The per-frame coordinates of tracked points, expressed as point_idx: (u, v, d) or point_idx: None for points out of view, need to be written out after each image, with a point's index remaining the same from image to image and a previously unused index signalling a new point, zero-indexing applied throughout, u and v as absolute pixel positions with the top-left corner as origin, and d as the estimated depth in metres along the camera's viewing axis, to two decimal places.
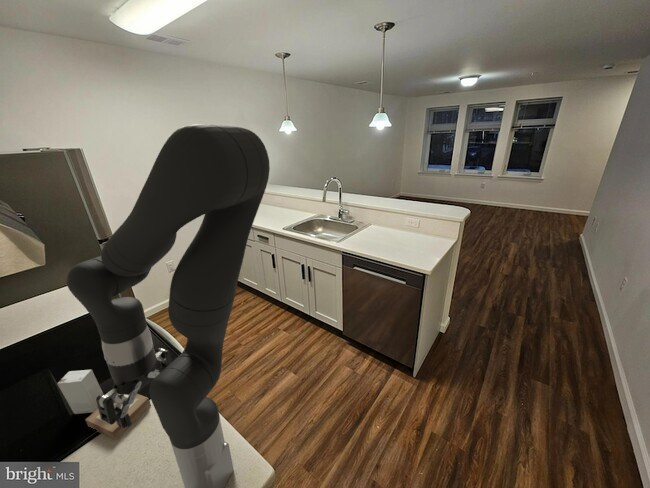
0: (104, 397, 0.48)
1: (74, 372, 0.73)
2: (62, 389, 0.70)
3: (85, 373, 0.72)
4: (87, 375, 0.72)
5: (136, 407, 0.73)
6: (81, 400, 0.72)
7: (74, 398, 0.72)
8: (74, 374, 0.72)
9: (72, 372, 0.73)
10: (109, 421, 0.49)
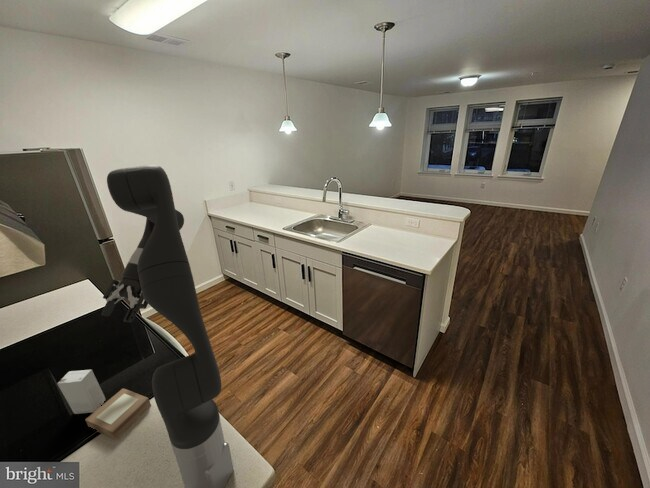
0: (117, 280, 0.81)
1: (74, 372, 0.73)
2: (62, 389, 0.70)
3: (85, 373, 0.72)
4: (87, 375, 0.72)
5: (136, 407, 0.73)
6: (81, 400, 0.72)
7: (74, 398, 0.72)
8: (74, 374, 0.72)
9: (72, 372, 0.73)
10: None
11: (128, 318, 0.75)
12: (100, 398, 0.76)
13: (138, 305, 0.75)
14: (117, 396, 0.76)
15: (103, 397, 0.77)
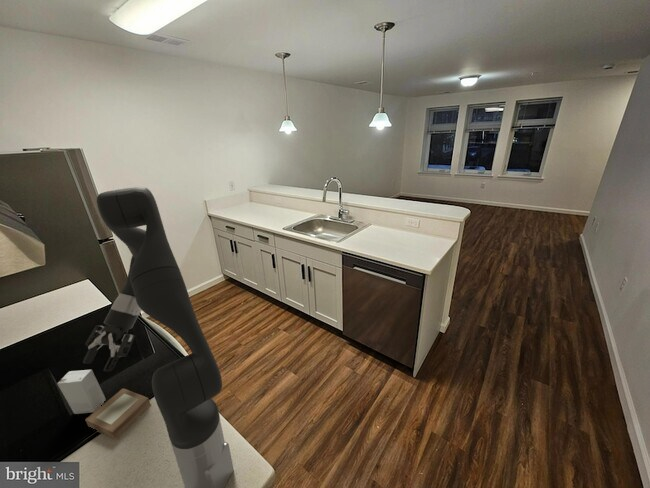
0: None
1: (74, 372, 0.73)
2: (62, 389, 0.70)
3: (85, 373, 0.72)
4: (87, 375, 0.72)
5: (136, 407, 0.73)
6: (81, 400, 0.72)
7: (74, 398, 0.72)
8: (74, 374, 0.72)
9: (72, 372, 0.73)
10: None
11: (108, 367, 0.75)
12: (100, 398, 0.76)
13: (118, 354, 0.75)
14: (117, 396, 0.76)
15: (103, 397, 0.77)
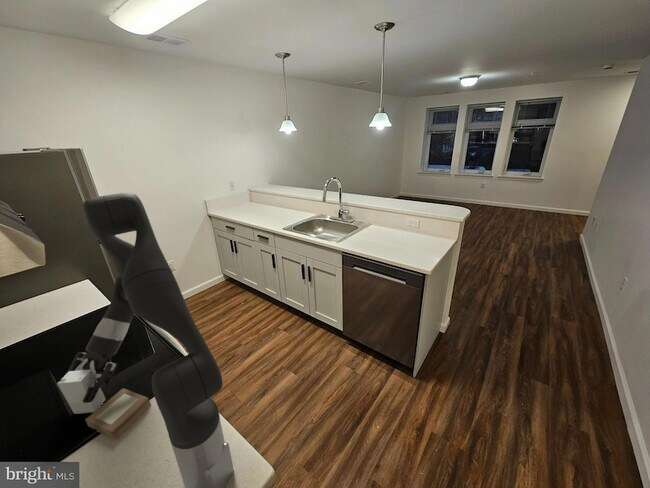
0: None
1: (74, 372, 0.73)
2: (62, 389, 0.70)
3: (85, 373, 0.72)
4: (87, 375, 0.72)
5: (136, 407, 0.73)
6: (81, 400, 0.72)
7: (74, 398, 0.72)
8: (74, 374, 0.72)
9: (72, 372, 0.72)
10: None
11: (87, 398, 0.71)
12: (100, 398, 0.76)
13: (98, 384, 0.71)
14: (117, 396, 0.76)
15: (103, 397, 0.77)
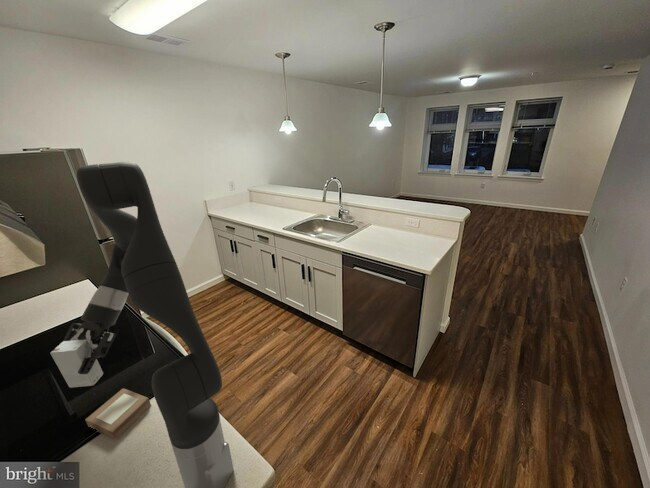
0: None
1: (69, 341, 0.67)
2: (56, 359, 0.65)
3: (80, 343, 0.67)
4: (83, 345, 0.67)
5: (136, 407, 0.73)
6: (77, 372, 0.67)
7: (68, 369, 0.66)
8: (68, 344, 0.67)
9: (66, 342, 0.67)
10: None
11: (83, 369, 0.66)
12: (97, 371, 0.71)
13: (95, 354, 0.66)
14: (117, 396, 0.76)
15: (100, 370, 0.72)
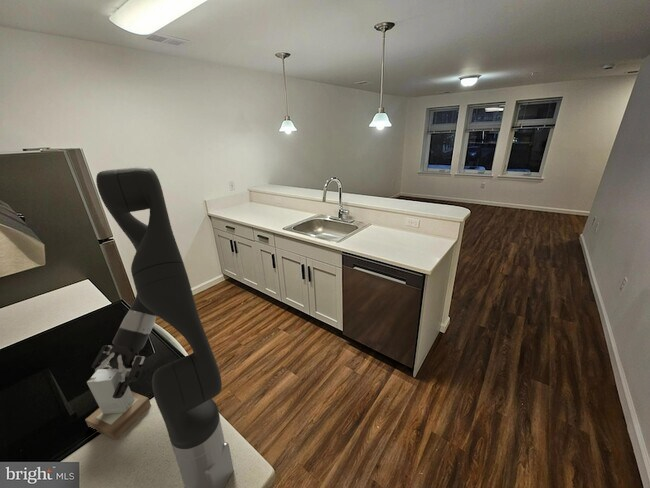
0: (108, 345, 0.74)
1: (103, 370, 0.69)
2: (91, 388, 0.67)
3: (115, 372, 0.69)
4: (117, 374, 0.69)
5: (136, 407, 0.73)
6: (111, 400, 0.69)
7: (103, 397, 0.68)
8: (103, 372, 0.69)
9: (101, 370, 0.69)
10: None
11: (118, 394, 0.67)
12: (129, 398, 0.73)
13: (129, 379, 0.67)
14: None
15: (131, 397, 0.74)
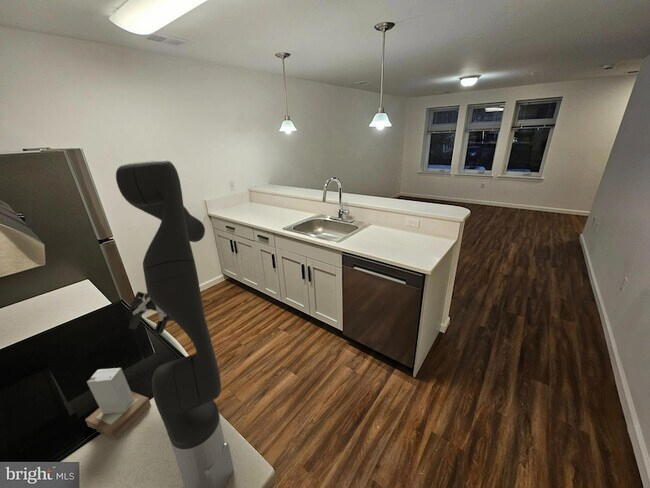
0: None
1: (103, 370, 0.69)
2: (91, 388, 0.67)
3: (115, 371, 0.69)
4: (117, 374, 0.69)
5: (136, 407, 0.73)
6: (111, 400, 0.69)
7: (103, 397, 0.68)
8: (103, 372, 0.69)
9: (101, 370, 0.69)
10: None
11: (158, 331, 0.75)
12: (129, 398, 0.73)
13: (168, 318, 0.76)
14: None
15: (131, 397, 0.74)
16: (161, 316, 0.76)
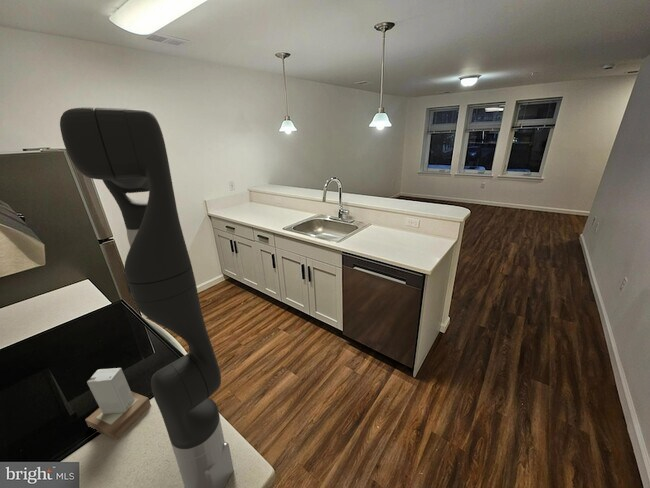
0: None
1: (103, 370, 0.69)
2: (91, 388, 0.67)
3: (115, 371, 0.69)
4: (117, 374, 0.69)
5: (136, 407, 0.73)
6: (111, 400, 0.69)
7: (103, 397, 0.68)
8: (103, 372, 0.69)
9: (101, 370, 0.69)
10: None
11: None
12: (129, 398, 0.73)
13: None
14: None
15: (131, 397, 0.74)
16: None
